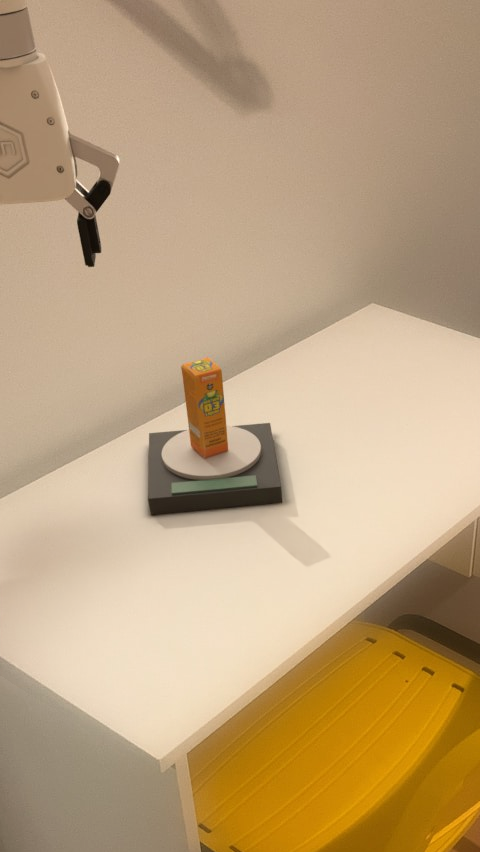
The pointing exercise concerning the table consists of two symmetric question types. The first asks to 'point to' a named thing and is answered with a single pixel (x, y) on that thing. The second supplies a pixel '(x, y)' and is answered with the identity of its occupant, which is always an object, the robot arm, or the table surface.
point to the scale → (212, 471)
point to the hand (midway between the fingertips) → (35, 265)
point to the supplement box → (205, 407)
